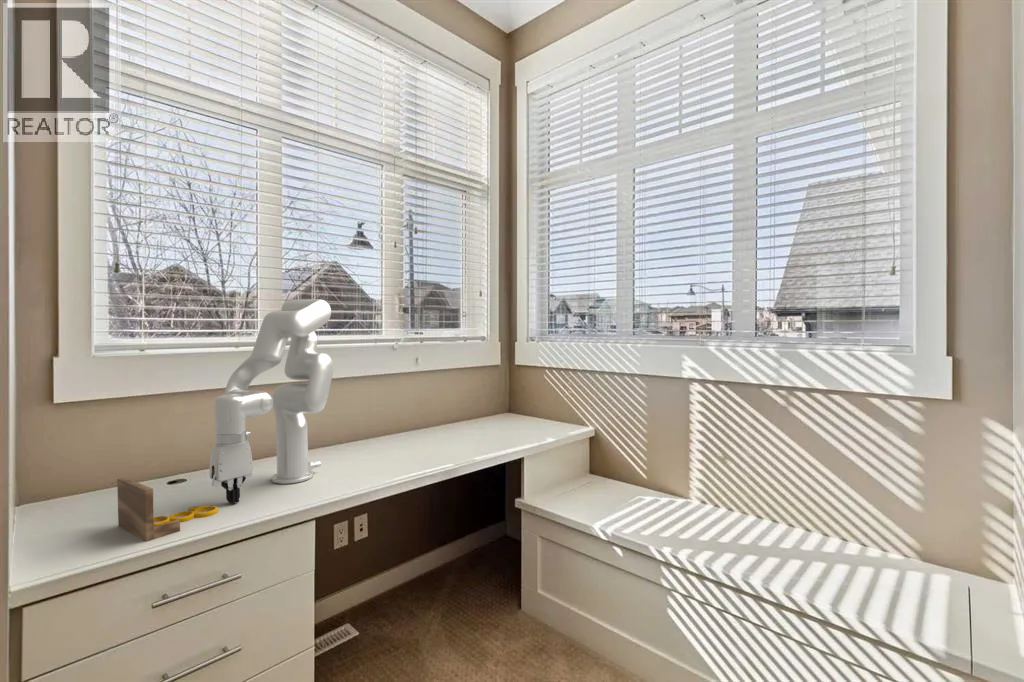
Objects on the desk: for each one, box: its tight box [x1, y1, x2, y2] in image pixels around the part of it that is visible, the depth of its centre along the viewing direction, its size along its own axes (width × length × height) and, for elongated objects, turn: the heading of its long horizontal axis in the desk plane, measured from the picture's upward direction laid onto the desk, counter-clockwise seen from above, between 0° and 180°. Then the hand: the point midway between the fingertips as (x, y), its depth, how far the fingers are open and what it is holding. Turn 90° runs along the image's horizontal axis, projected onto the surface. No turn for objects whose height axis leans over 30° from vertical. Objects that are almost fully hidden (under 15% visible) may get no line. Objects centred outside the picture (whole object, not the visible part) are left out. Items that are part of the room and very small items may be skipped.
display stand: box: [116, 477, 181, 542], centre depth 120 cm, size 7×16×12 cm, turn 57°
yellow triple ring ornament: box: [154, 505, 219, 527], centre depth 127 cm, size 17×2×10 cm
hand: (233, 501), depth 138 cm, fingers closed
